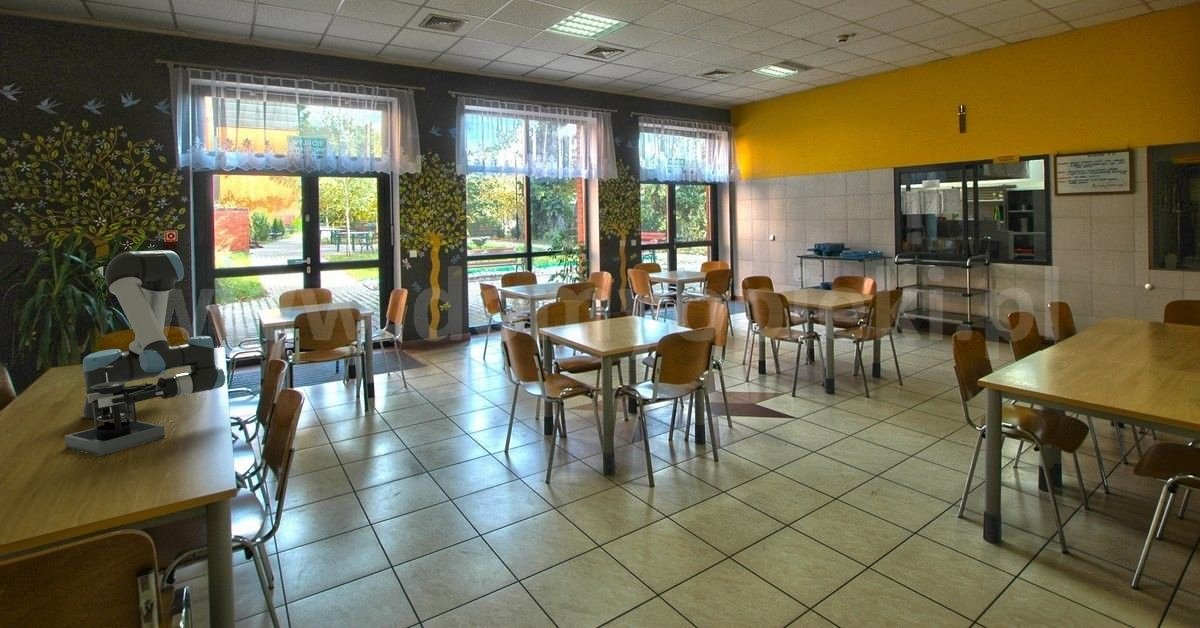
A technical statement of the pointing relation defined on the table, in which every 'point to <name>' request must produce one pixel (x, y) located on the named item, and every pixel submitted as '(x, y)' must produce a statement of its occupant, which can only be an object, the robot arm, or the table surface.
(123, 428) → the french press
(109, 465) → the table surface
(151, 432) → the tray
